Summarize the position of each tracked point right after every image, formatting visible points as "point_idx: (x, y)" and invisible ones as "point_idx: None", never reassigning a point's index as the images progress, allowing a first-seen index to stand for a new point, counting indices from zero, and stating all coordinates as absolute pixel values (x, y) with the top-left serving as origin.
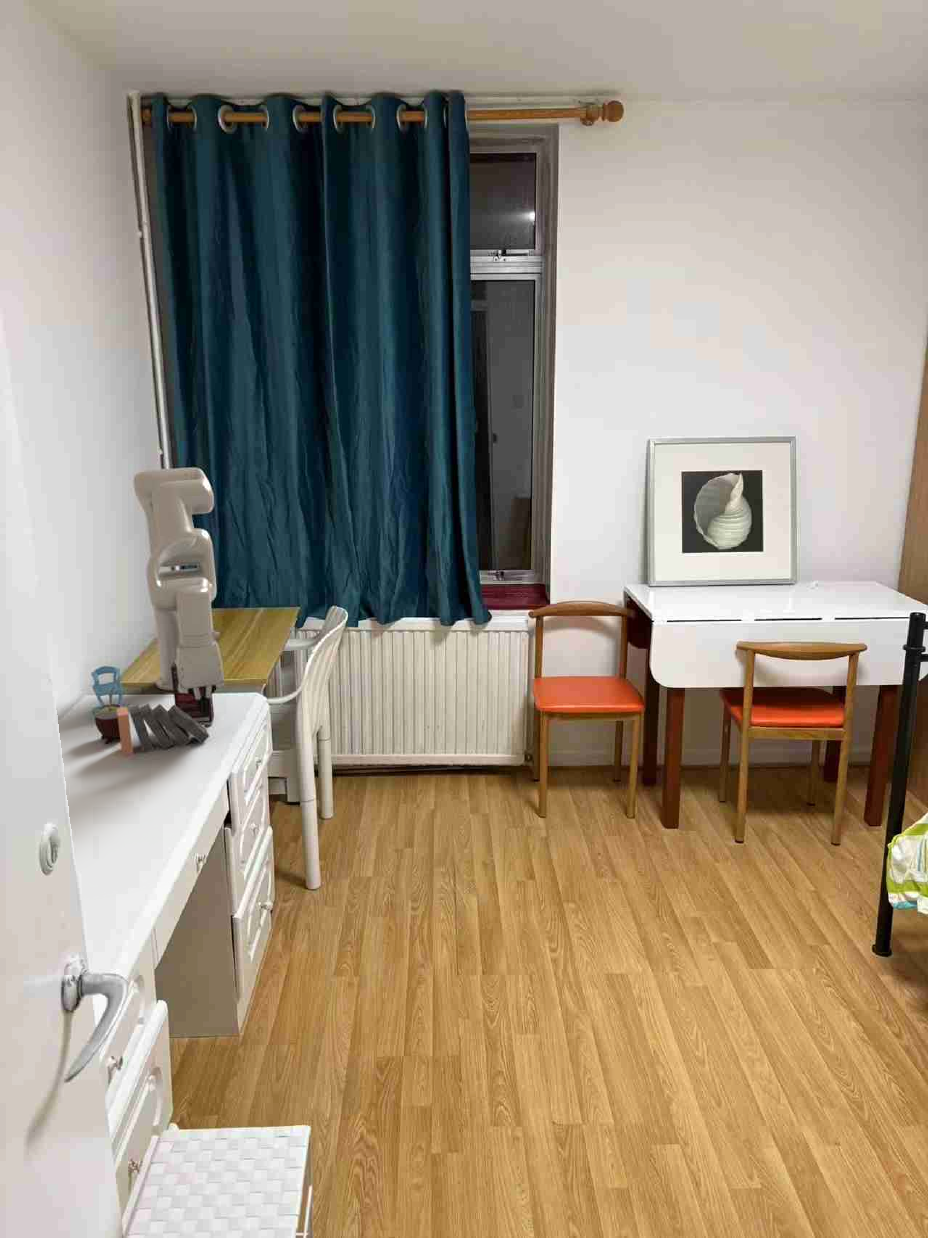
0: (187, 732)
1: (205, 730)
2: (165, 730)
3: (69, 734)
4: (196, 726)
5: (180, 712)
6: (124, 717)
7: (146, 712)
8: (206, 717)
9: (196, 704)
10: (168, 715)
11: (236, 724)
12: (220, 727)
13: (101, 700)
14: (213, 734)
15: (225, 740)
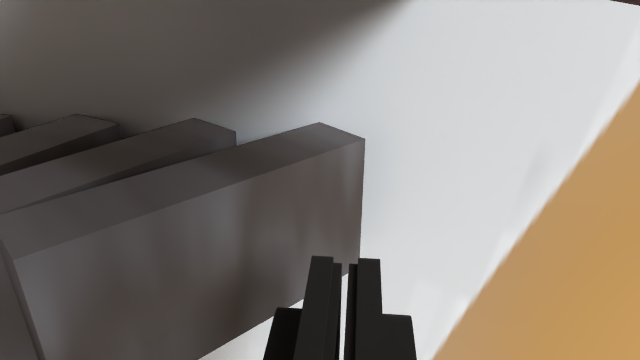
0: (231, 146)
1: (348, 210)
2: (67, 152)
3: None
4: (272, 313)
5: (117, 336)
6: None
7: None
8: None
9: (268, 338)
10: (17, 323)
11: (618, 36)
12: (487, 42)
13: None
14: (406, 145)
15: (449, 259)
